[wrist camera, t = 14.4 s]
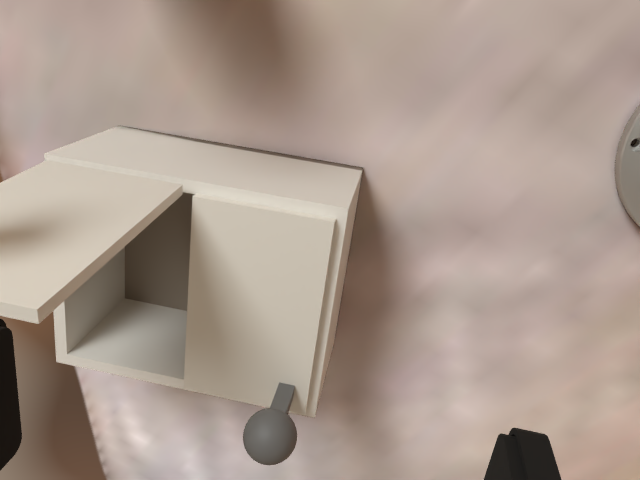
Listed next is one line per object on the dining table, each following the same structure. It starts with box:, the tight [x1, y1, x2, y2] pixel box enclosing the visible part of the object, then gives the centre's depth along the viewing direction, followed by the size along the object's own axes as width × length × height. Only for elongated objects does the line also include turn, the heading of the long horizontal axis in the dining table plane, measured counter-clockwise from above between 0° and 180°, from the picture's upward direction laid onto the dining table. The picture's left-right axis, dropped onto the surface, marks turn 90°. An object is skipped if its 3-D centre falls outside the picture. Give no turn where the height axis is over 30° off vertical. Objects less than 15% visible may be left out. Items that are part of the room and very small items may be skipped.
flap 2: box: [184, 193, 336, 465], centre depth 32 cm, size 8×13×6 cm, turn 172°
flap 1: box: [0, 160, 183, 324], centre depth 25 cm, size 8×13×6 cm
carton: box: [44, 126, 363, 418], centre depth 39 cm, size 18×15×9 cm
